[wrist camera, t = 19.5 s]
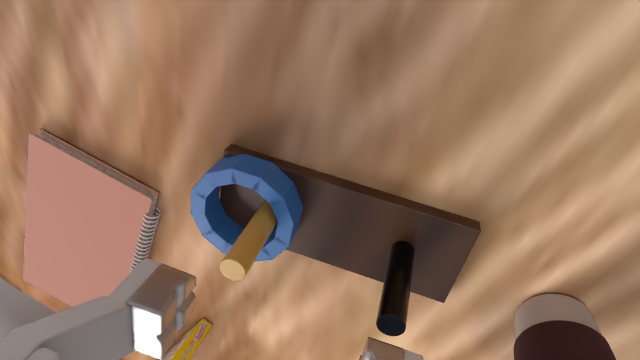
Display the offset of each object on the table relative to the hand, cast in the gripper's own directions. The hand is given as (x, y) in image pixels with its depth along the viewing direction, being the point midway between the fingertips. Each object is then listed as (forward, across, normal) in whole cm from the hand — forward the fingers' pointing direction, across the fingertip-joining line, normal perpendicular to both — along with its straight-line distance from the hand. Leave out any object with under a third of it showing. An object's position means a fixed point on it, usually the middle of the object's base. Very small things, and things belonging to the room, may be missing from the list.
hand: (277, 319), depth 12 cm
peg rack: (+29, +1, +18) cm, 34 cm away
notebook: (+29, +32, +33) cm, 55 cm away
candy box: (+29, +18, +48) cm, 59 cm away
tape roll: (+27, +10, +18) cm, 34 cm away
